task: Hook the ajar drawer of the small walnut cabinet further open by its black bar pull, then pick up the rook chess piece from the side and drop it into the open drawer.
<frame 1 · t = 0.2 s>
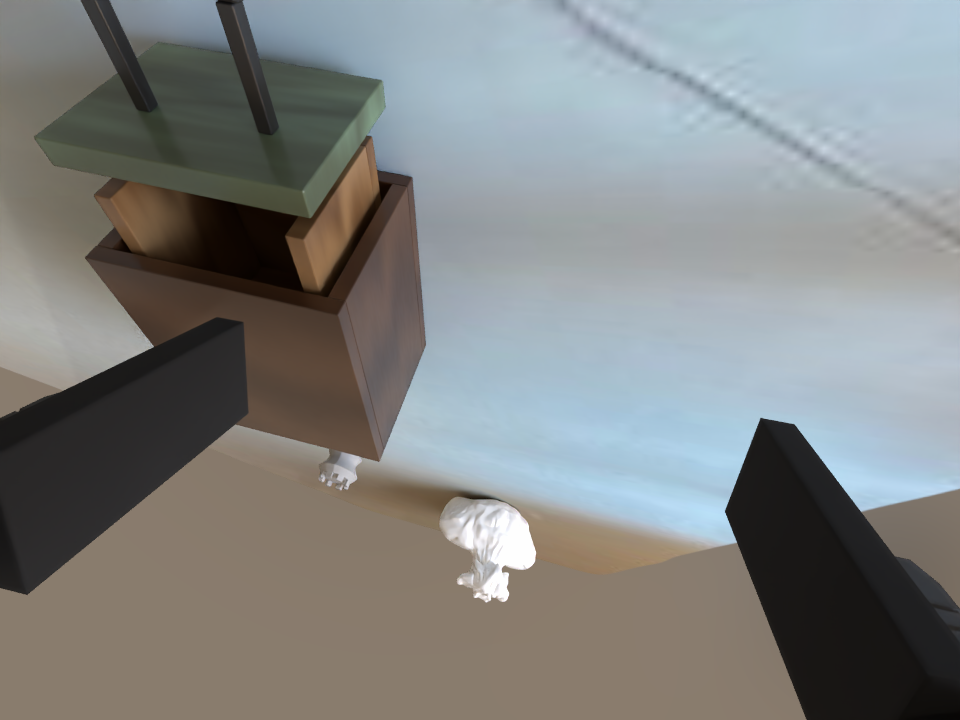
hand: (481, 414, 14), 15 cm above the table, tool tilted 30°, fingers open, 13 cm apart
drawer: (250, 185, 24), point 5 cm above the table, slide at 4.0 cm
cabinet: (331, 256, 33), on the table
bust: (499, 503, 60), on the table
rook chess piece: (370, 399, 48), on the table
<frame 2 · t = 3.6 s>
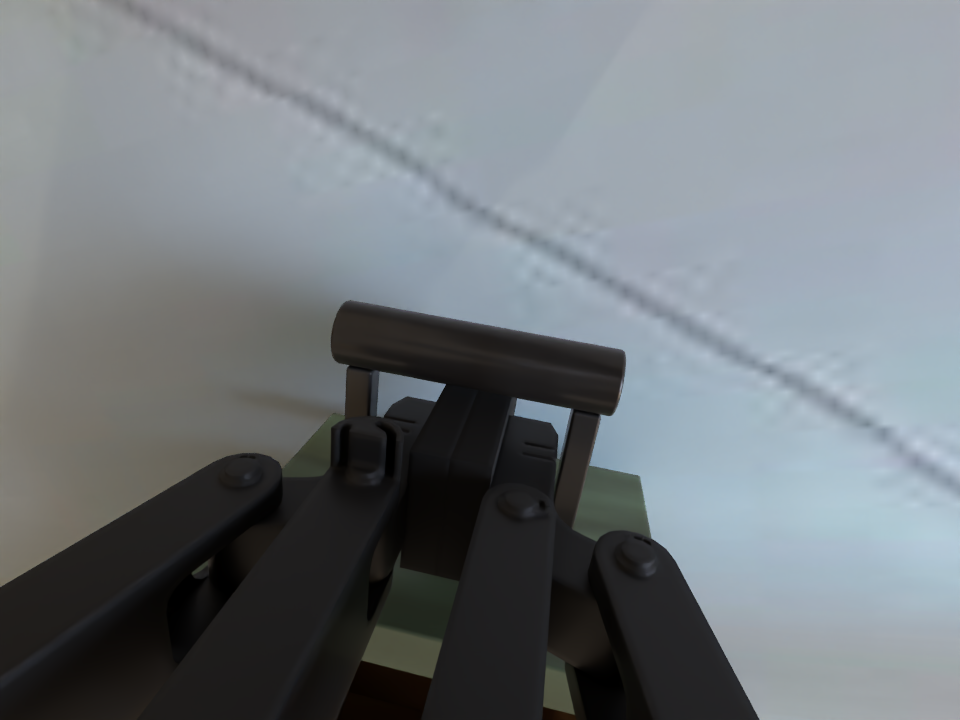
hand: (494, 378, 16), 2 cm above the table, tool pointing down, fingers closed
drawer: (444, 614, 16), point 5 cm above the table, slide at 4.8 cm, touching gripper
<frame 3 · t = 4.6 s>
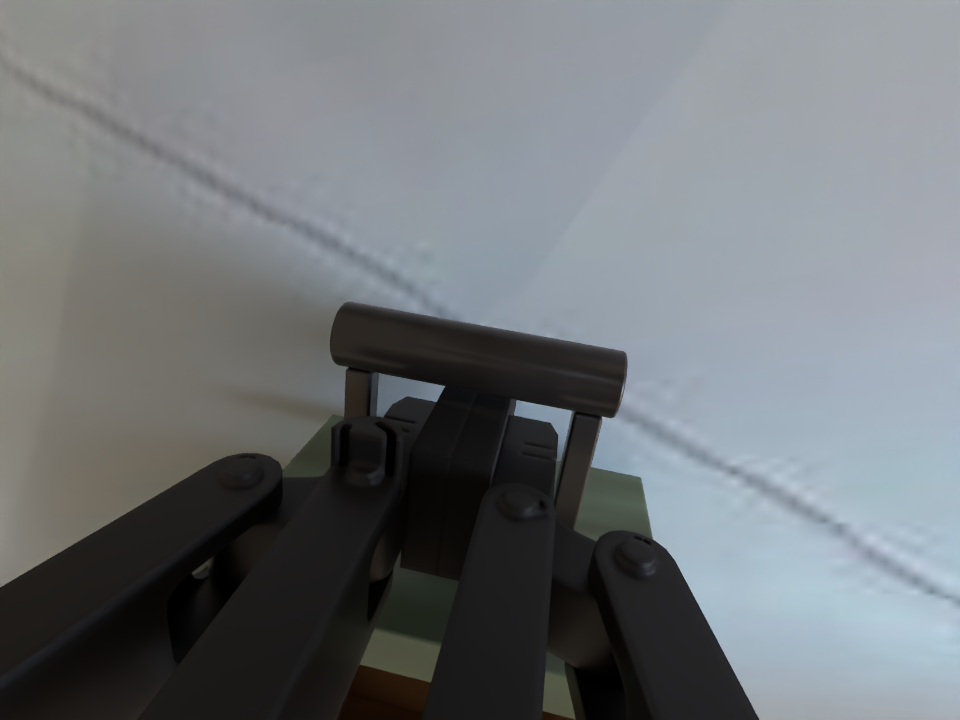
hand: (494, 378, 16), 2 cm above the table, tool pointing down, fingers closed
drawer: (444, 617, 16), point 5 cm above the table, slide at 8.4 cm, touching gripper
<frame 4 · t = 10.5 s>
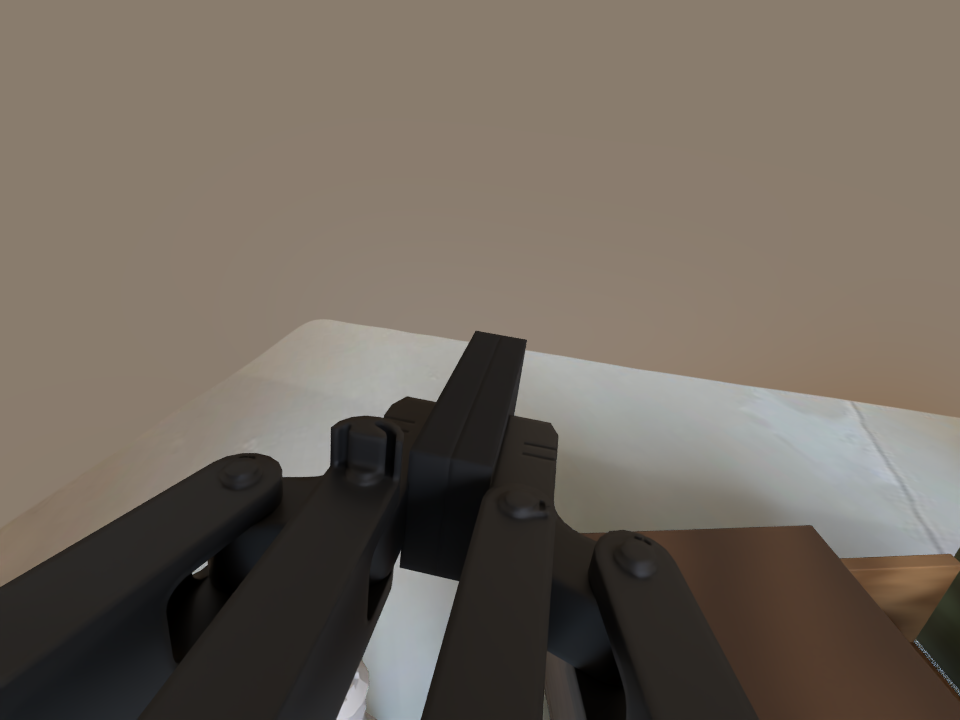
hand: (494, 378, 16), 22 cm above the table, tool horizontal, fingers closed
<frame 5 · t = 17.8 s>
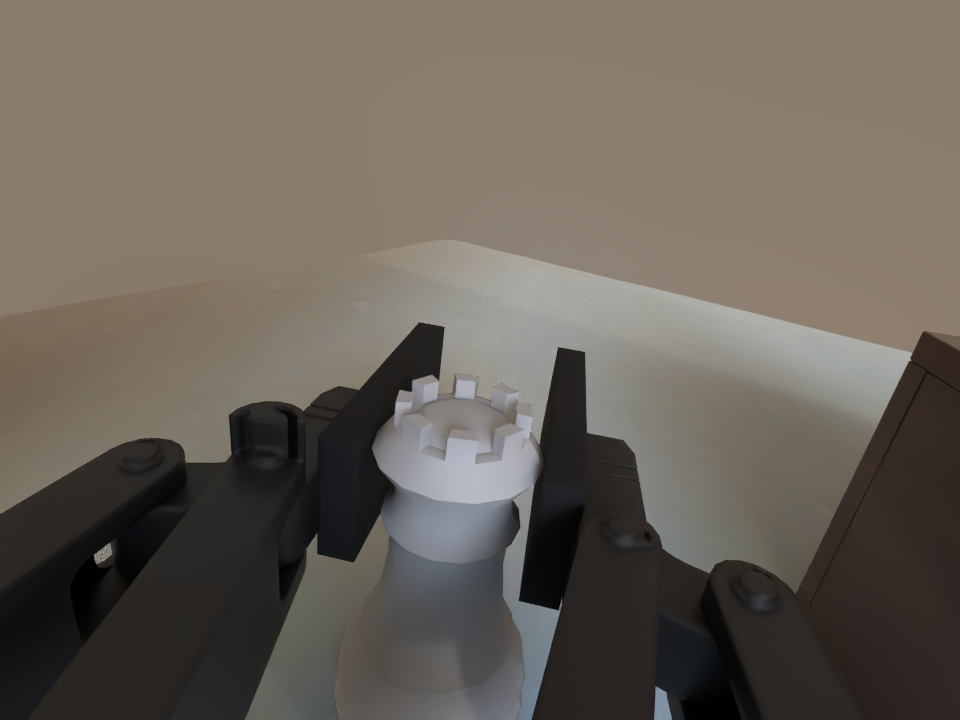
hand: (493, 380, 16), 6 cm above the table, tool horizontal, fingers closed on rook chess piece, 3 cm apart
rook chess piece: (427, 697, 13), on the table, touching gripper
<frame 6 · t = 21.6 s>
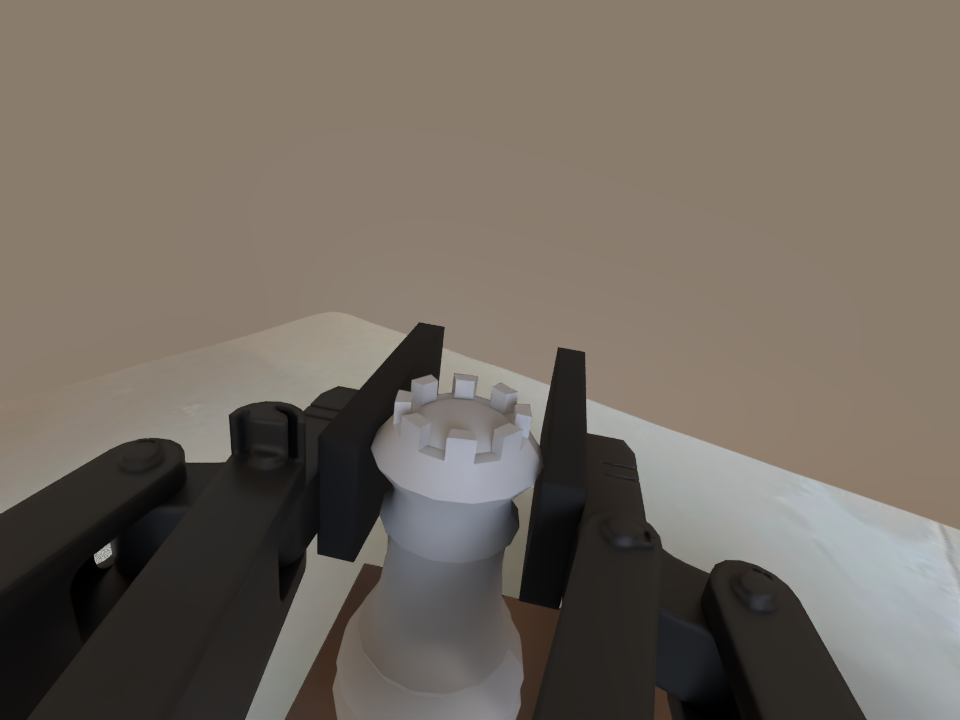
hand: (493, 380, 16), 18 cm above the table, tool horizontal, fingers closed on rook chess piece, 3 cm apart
rook chess piece: (426, 697, 13), point 12 cm above the table, touching gripper
when the fingers open (11 cm above the table, at t = 25.7 s): rook chess piece drops 3 cm, resting on drawer.
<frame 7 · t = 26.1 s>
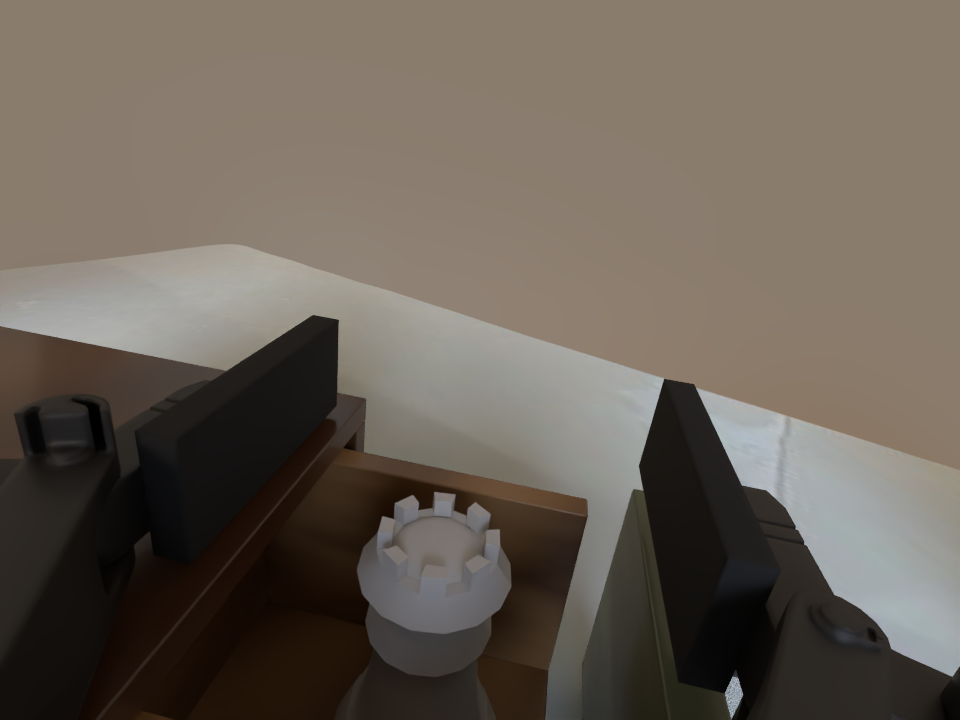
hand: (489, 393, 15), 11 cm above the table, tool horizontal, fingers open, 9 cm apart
cabinet: (62, 711, 16), on the table
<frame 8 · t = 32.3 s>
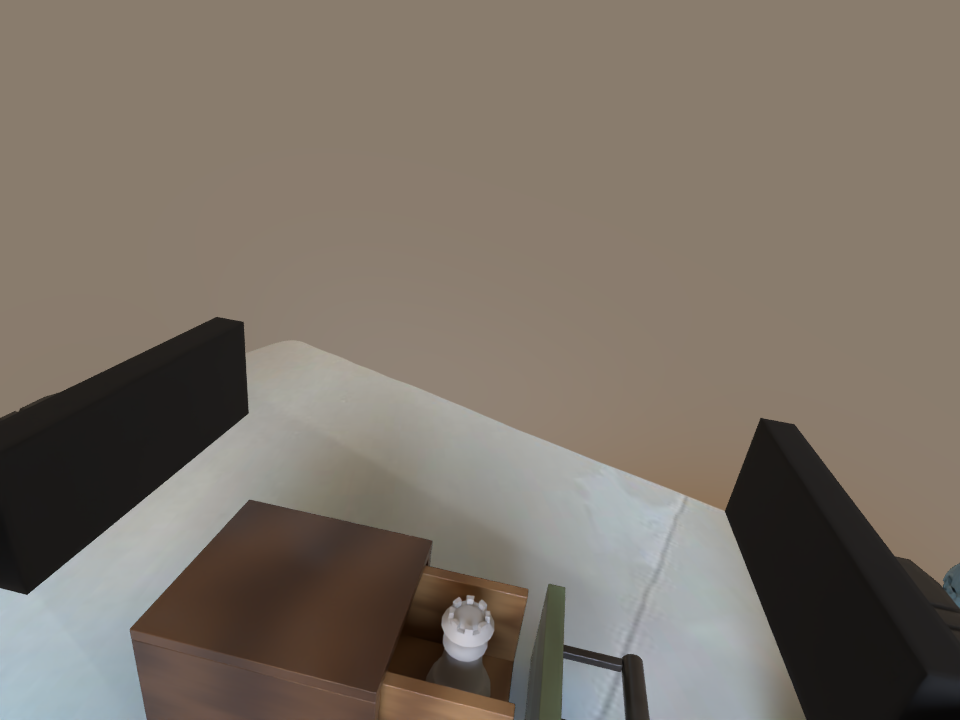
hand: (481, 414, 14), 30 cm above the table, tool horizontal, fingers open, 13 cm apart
drawer: (495, 680, 34), point 5 cm above the table, slide at 8.5 cm, touching rook chess piece
cabinet: (302, 679, 37), on the table
rook chess piece: (455, 701, 35), point 2 cm above the table, touching drawer
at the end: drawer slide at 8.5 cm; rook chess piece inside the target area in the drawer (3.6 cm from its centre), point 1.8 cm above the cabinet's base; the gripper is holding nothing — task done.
